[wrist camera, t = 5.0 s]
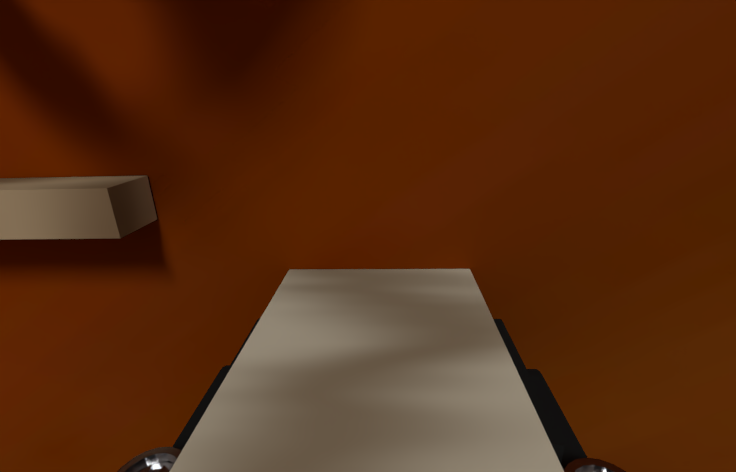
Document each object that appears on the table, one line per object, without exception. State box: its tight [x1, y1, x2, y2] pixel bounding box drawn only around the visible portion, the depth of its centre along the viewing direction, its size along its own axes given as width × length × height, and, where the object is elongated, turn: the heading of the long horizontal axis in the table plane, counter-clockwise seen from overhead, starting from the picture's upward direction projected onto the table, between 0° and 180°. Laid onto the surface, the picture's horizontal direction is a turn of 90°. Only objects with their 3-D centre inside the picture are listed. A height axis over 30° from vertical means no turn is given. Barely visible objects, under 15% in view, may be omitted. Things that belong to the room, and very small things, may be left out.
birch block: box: [170, 269, 564, 472], centre depth 8 cm, size 5×5×7 cm
